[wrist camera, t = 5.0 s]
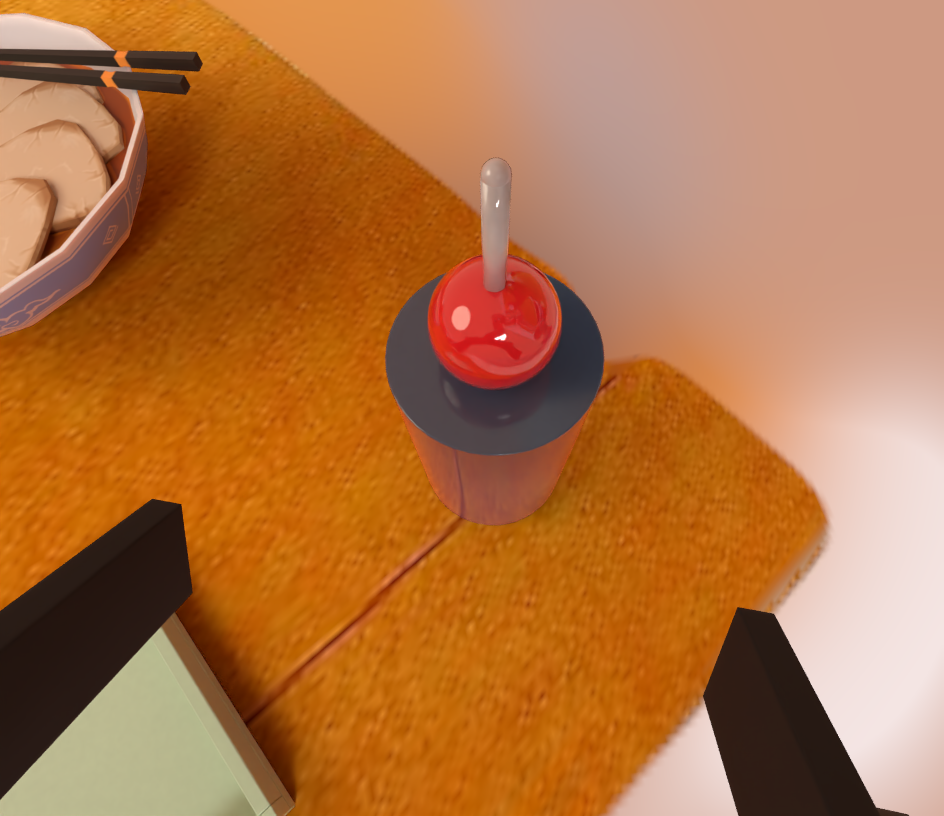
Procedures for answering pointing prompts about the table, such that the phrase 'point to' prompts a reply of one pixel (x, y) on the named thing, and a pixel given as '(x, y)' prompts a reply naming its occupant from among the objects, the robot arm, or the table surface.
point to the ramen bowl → (68, 157)
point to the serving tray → (154, 747)
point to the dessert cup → (494, 373)
